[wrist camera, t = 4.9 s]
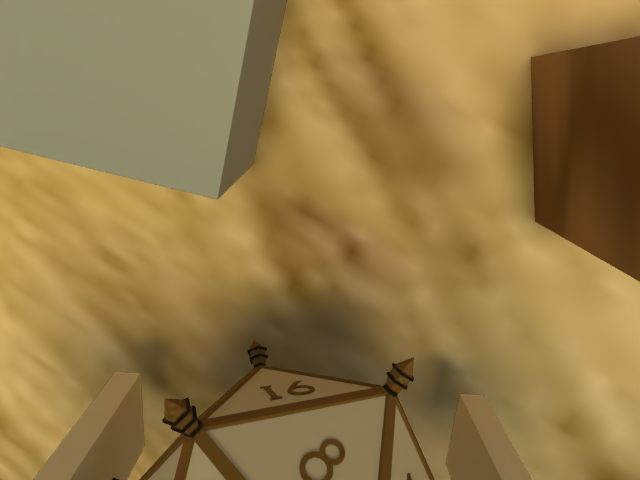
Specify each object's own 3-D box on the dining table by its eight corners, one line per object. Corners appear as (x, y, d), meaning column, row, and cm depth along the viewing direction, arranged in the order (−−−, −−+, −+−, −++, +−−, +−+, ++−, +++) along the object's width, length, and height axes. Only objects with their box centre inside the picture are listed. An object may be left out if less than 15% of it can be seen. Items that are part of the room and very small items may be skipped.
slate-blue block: (253, 163, 13) (217, 199, 9) (92, 122, 13) (-40, 136, 8) (289, -12, 12) (270, -86, 7) (107, -65, 11) (-43, -180, 7)
